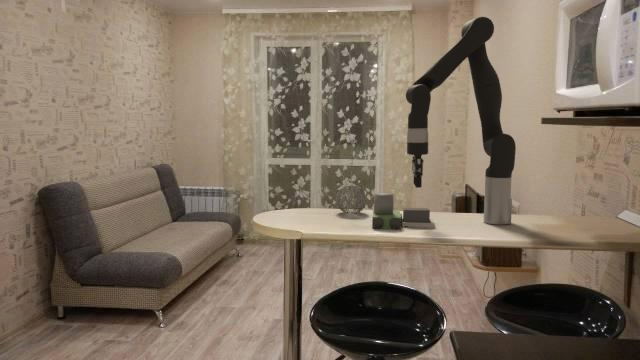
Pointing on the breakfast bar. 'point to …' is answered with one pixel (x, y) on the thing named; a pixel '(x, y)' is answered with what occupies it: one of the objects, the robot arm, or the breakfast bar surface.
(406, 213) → the grey rectangular block
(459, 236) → the breakfast bar surface
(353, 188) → the pendant light
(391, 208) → the toy tractor
